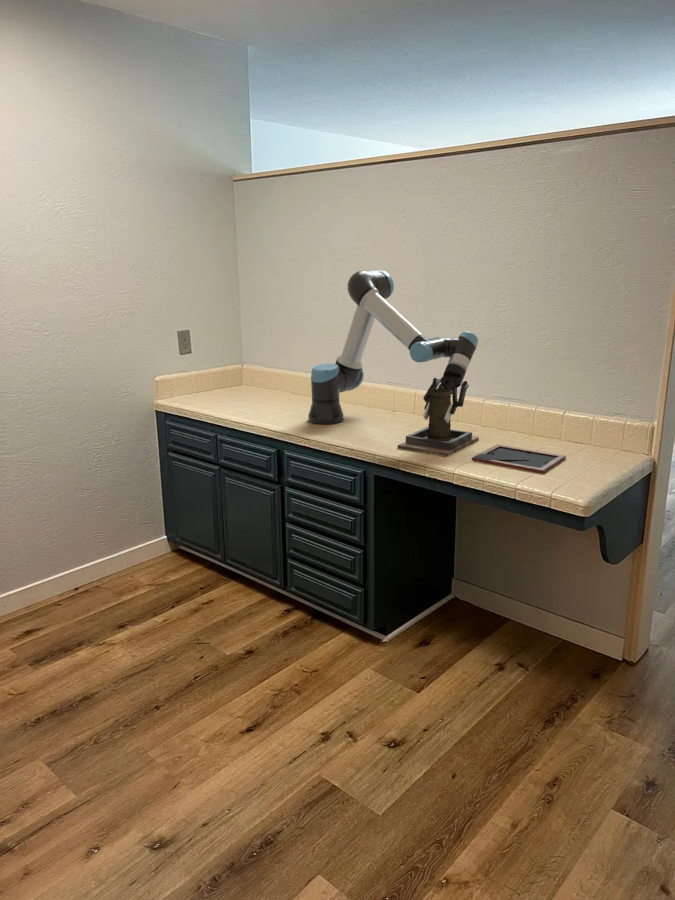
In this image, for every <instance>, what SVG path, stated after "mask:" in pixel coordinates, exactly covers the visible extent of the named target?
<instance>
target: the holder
mask: <svg viewBox="0 0 675 900" xmlns="http://www.w3.org/2000/svg"><path fill="white" fill-rule="evenodd" d="M428 430H429V425H428V426H426V427H424V428H422V429H419V430H417V431H414V432H412V433H410V434H408V435H406V436H405V441H403V442H402V443H400V444H398V445H397V449H399V448H402V449H401V450H405V449H407V450H406V451H411V450H412V452H417V451H418V452H417V453H423V452H425V453H424V454H429V453H432V454H431V455H435V454H438V455H437V456H440V455H443V457H446V456H448V455H450V454H452V453H454V452H455V453H457V452H459V451H461V450H462V448H463V449H465V448H467V447H468V446H471V445H472V444H473V443H476V442H478V441H479V439H480V437H479V436H475V435H473V432H472V431H465V430H459V429H457V430H456V429H451V428H450V431H451V434H450V435H451V436H452V438H451V440H450V441H440V440H434V439H427V435H428V433H427V432H428ZM477 440H478V441H477ZM466 446H467V447H466ZM464 447H465V448H464ZM460 449H461V450H460ZM458 450H459V451H458ZM456 451H457V452H456ZM455 453H454V454H455ZM452 455H453V454H452ZM450 456H451V455H450ZM448 457H449V456H448Z"/></svg>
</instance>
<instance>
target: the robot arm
mask: <svg viewBox="0 0 675 900" xmlns="http://www.w3.org/2000/svg"><path fill="white" fill-rule="evenodd" d="M394 287H395V285H394V280H393V279H392V276H391V275H390V274H389V273H388V272H387V271H384V270H381V269H374V270H373V269H372V270H359V271H356V272H355V273H353V274H352V275H351V276H350V277H349V279H348V282H347V292H348V295H349V297H350V299H351V300H352V301H353V302H354V303H355V304H356V309H355V311H354V313H353V314H354V315H353V317H352V321H351V325H350V328H349V332H348V334H347V338H346V341H345V344H344V347H343V349H342V352H341V355H338V356H337V357H336V361H335V363H324V364H323V363H322V364H319V365H316V366H314V367H313V368H312V369H311V375H310V381H311V404H310V409H309V412H308V415H307V416H308V417H307V419H308V420H309V421H310V422H309V421H308V422H309V423H311V422H312V424H315V423H318V424H317V425H334V424H338V423H342V422H343V421H344V419H345V417H344V415H345V414H344V412H343V409H342V406H341V403H340V393H344V392H347V391H348V392H349V391H353V390H354V389H357V388H359V387H360V386H361V384H362V383H363V381H364V377H365V374H364V372H363V371H364V370H363V365H364V364H363V363H362V358H363V355H364V353H365V350H366V346H367V343H368V340H369V336H370V334H371V331H372V327H373V325H374V322H375V320H376V321H378V322H379V323H380V324H381V325H382V326H383V327H384V328H385V329H386V330H387V331H389V332H390V334H392V336H394V337H395V338H396V339H397V340H398V341H399V342H400V343H401V344H402V345H403V346H404V347H405V348H407V349H408V350H409V356H410V358H411V360H412V361H414V362H416V363H427V362H429V361H432V360H437V359H441V358H449V359H448V362H447V365H446V367H445V369H444V372H443V375H442V376H441V377H440V378H437V377H433V379H432V383H431V385H430V386H429V388H428V389H427V391H426V393H425V394H424V396H423V397H422V398H423V401H424V402H425V403H426V404H425V405H424V411H423V415H422V416H423V419H424V420H425V421H428V419H429V401H430V397H429V396H430V395H429V391H430V390H433V389H447V390H451V391H452V394H451V399H452V400H451V404H450V406H449V408H448V410H447V413H446V415H445V418H444V419H445V421H446V423H449V420H450V421H451V418H452V415H455V413H456V411H457V408H458V407H460V408H462V407H463V406H464V402H465V398H466V393H467V390H468V388H469V384H468V381H467V380H464V378H465V376H466V373H467V372H468V369H469V366H470V364H471V360H472V359H473V355H474V354H475V352H476V350H477V346H478V343H479V338H478V336H477V335H476V334H475V333H473V332H470V331H467V330H466V331H463V332H461V333H460V334H459V335H458V337H439V336H436V337H428V338H427V337H426V336H425V335H423V334H422V333H421V332H420V331H419V330H418V329H417V328H416V327H415V326H414V325H412V324H411V323H410V322H409V321H408V320H407V319H406V318H405V317H404V316H403V315H402V314H401V313H399V312H398V310H396V309H395V308H394V307H393V306H392V305H391V304H389V302H388V301H387V299H388V298H390V297H391V296H392V294H393V292H394ZM463 380H464V381H463ZM459 387H460V391H459V396H458V388H459Z"/></svg>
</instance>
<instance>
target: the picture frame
mask: <svg viewBox="0 0 675 900" xmlns="http://www.w3.org/2000/svg"><path fill="white" fill-rule="evenodd" d="M566 458H567V456H566V455H563V454H556V453H551V452H546V451H540V450H539V451H538V450H534V449H528V448H527V449H526V448H522V447H515V446H510V445H509V446H508V445H503V444H495V445H494V446H492V447H489V448H488V449H486V450H484V451H481V452H479V453H477V454H475V455H473V456H472V457H471V461H472V460H473V461H472V462H476V461H478V462H477V463H481V462H482V463H483V464H488V465H493V466H498V467H505V468H511V469H515V470H519V471H520V470H521V471H527V472H531V473H536V474H545V473H546V472H548V471H550V470H551V469H553V468H554V467H556V466H557V465H558V464H560V463H562V462H563V461H565V460H566Z"/></svg>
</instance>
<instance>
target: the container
mask: <svg viewBox="0 0 675 900" xmlns="http://www.w3.org/2000/svg"><path fill="white" fill-rule="evenodd" d="M429 395H430V396H429V397H430V401H429V417H428V419H429V420H428V426H429V430H428V432H427V433H428V435H427V439H434V440H440V441H450V440H451V438H452V436H451V435H450V434H451V431H450V429H451V425H452V424H451V419H450V420H449V423H446V421H445V419H444V418H445V415H446V413H447V410H448V408H449V406H450V404H452V400H451V399H452V391H451V390H447V389H437V388H436V389H433V390H430V391H429Z"/></svg>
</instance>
